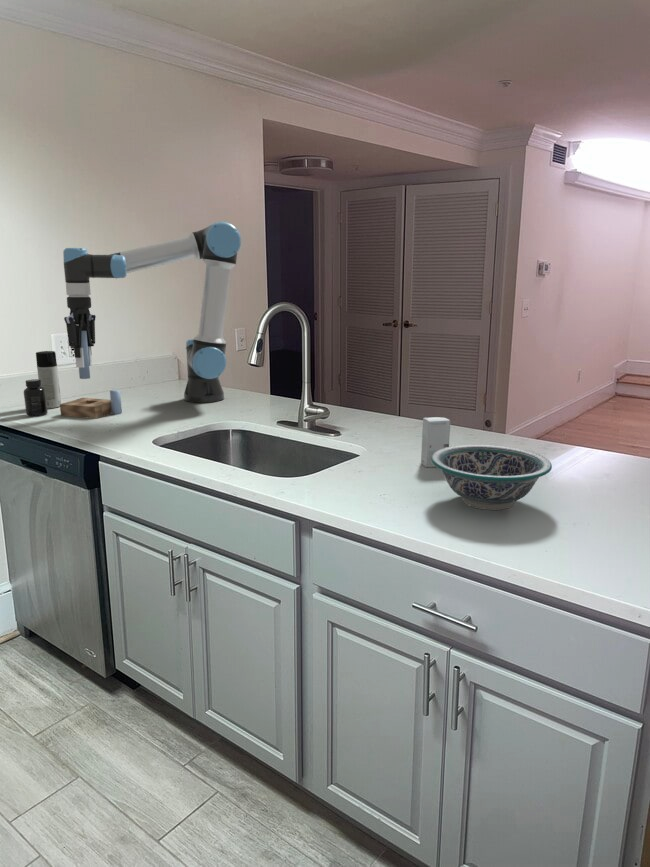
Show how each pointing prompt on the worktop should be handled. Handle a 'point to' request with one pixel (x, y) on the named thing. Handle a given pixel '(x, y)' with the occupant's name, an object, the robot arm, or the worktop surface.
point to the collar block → (86, 408)
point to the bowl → (490, 473)
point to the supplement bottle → (35, 398)
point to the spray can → (49, 377)
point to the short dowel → (115, 401)
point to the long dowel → (85, 371)
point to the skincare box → (434, 438)
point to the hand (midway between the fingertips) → (84, 366)
